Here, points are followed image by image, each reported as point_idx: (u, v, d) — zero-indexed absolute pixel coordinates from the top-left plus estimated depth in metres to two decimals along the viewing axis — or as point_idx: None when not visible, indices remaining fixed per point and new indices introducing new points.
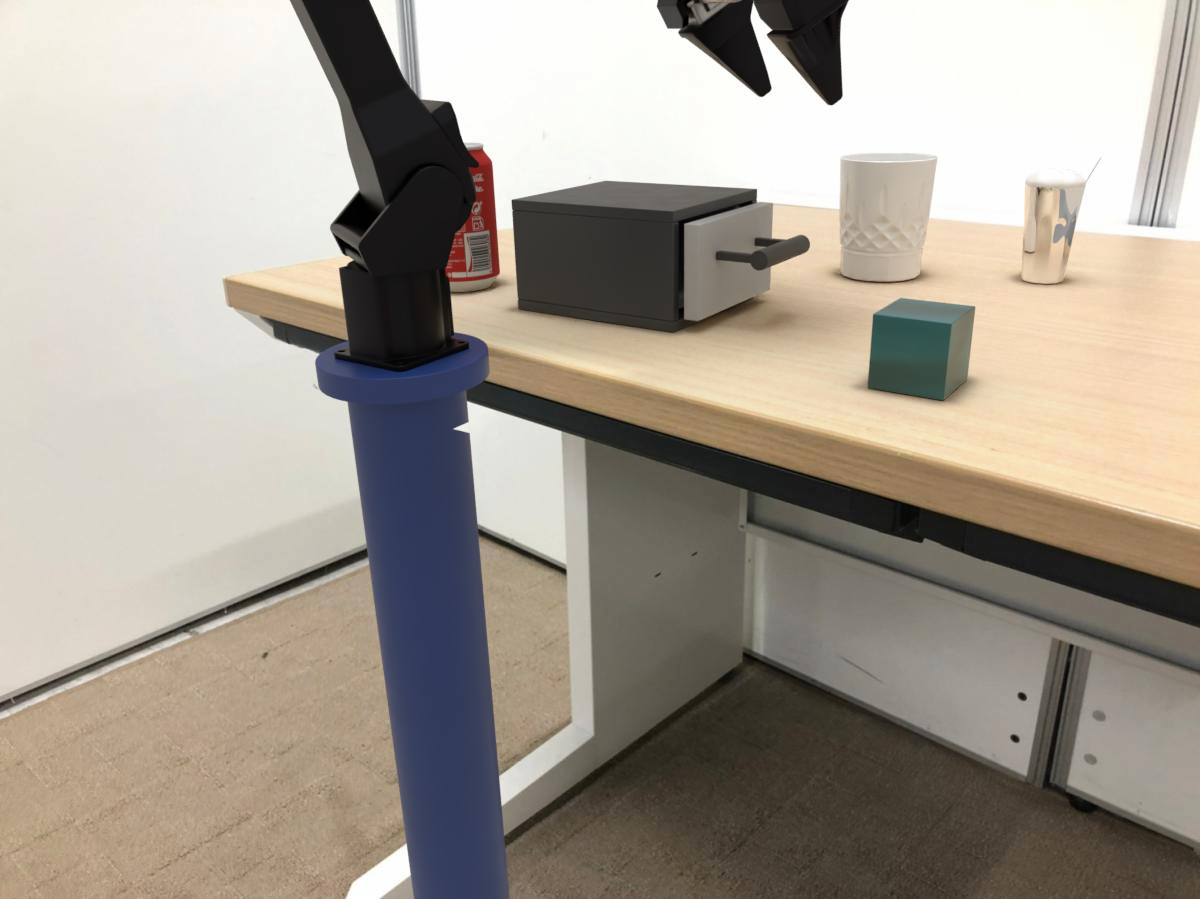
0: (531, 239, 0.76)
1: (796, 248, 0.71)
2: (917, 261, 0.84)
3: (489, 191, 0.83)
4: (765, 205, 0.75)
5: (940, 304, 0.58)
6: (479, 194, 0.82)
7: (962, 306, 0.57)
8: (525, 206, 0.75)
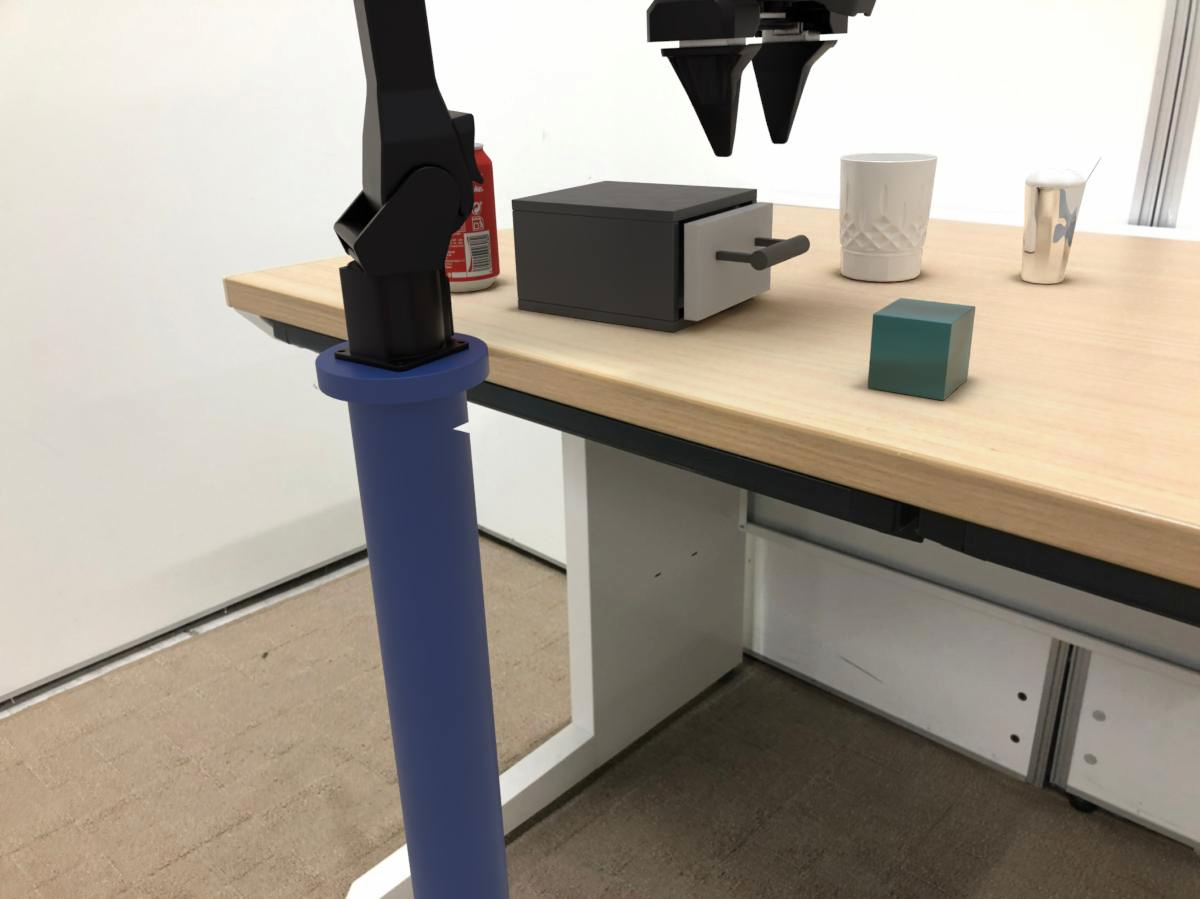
0: (531, 239, 0.76)
1: (796, 248, 0.71)
2: (917, 261, 0.84)
3: (489, 191, 0.83)
4: (765, 205, 0.75)
5: (940, 304, 0.58)
6: (479, 194, 0.82)
7: (962, 306, 0.57)
8: (525, 206, 0.75)
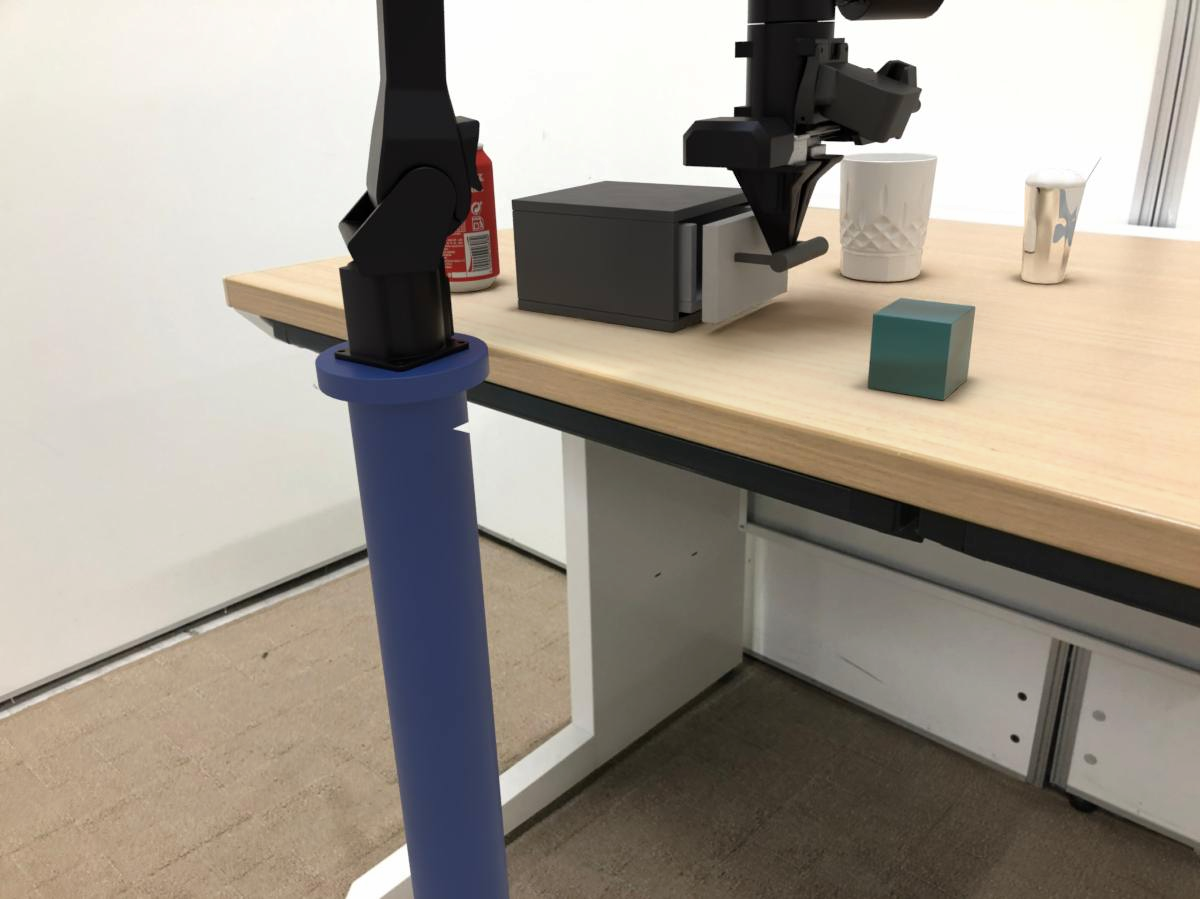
0: (531, 239, 0.76)
1: (816, 250, 0.71)
2: (917, 261, 0.84)
3: (489, 191, 0.83)
4: None
5: (940, 304, 0.58)
6: (479, 194, 0.82)
7: (962, 306, 0.57)
8: (525, 206, 0.75)
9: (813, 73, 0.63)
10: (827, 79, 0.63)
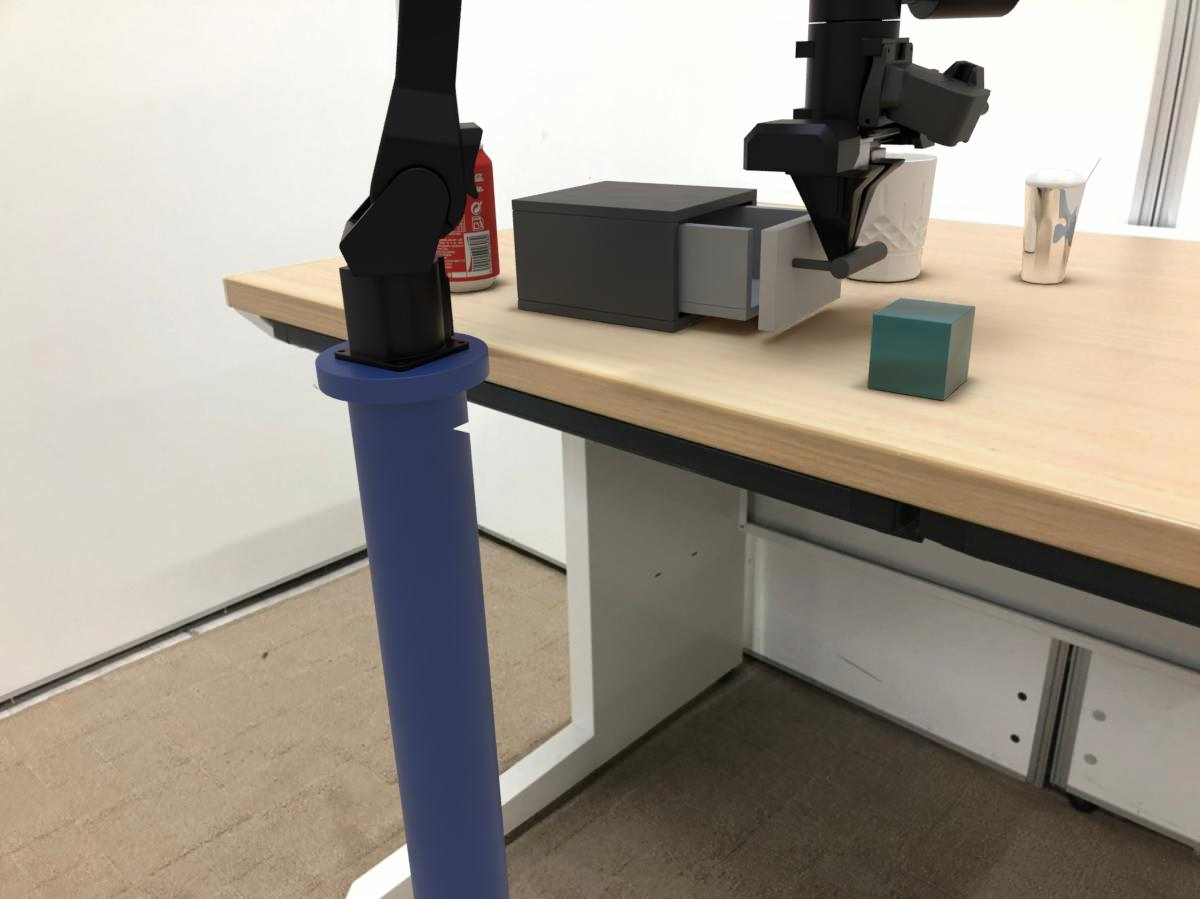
0: (531, 239, 0.76)
1: (875, 255, 0.68)
2: (917, 261, 0.84)
3: (489, 191, 0.83)
4: None
5: (940, 304, 0.58)
6: (479, 194, 0.82)
7: (962, 306, 0.57)
8: (525, 206, 0.75)
9: (879, 74, 0.60)
10: (894, 80, 0.60)
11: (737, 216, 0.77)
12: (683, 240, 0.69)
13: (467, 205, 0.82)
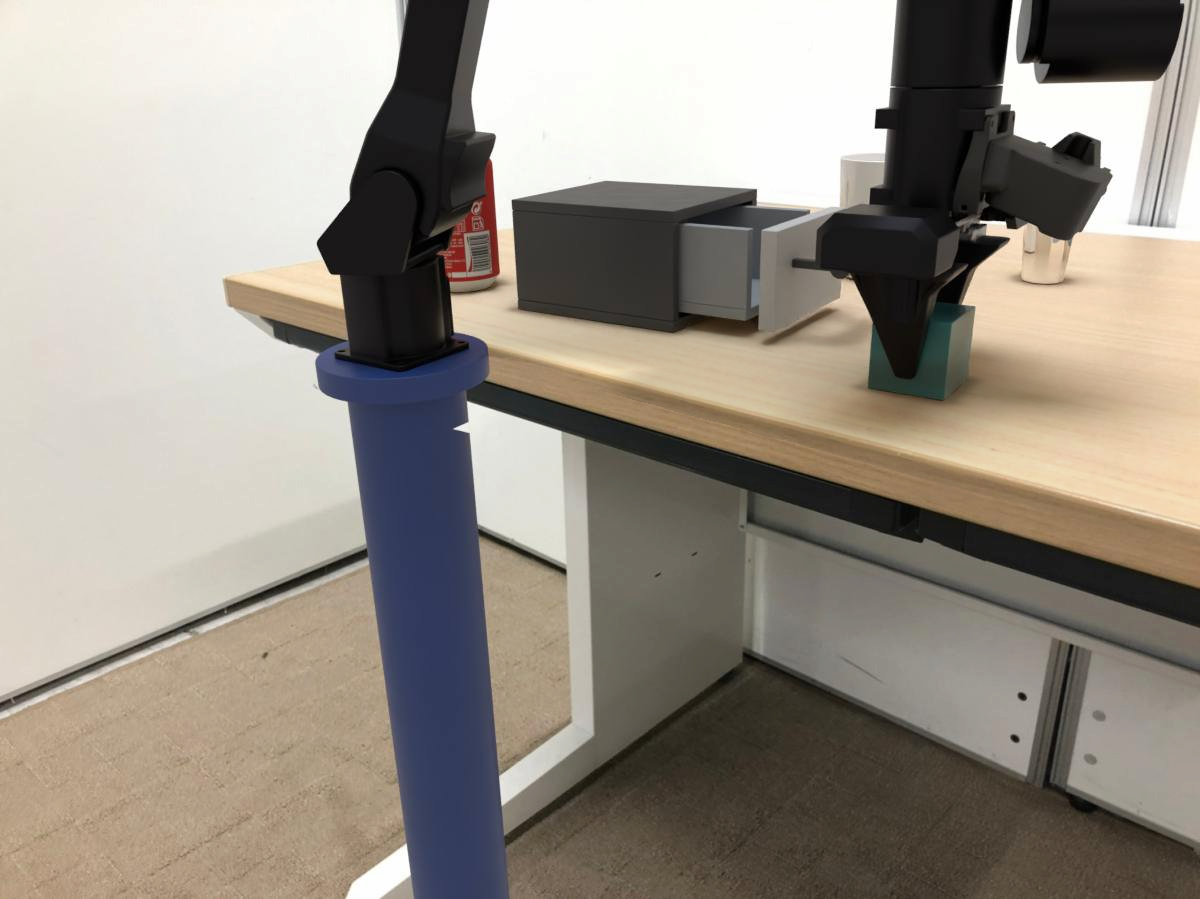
0: (531, 239, 0.76)
1: None
2: None
3: (489, 191, 0.83)
4: (838, 210, 0.72)
5: (940, 304, 0.58)
6: None
7: (962, 306, 0.58)
8: (525, 206, 0.75)
9: (981, 152, 0.50)
10: (999, 160, 0.50)
11: (737, 216, 0.77)
12: (683, 240, 0.69)
13: None
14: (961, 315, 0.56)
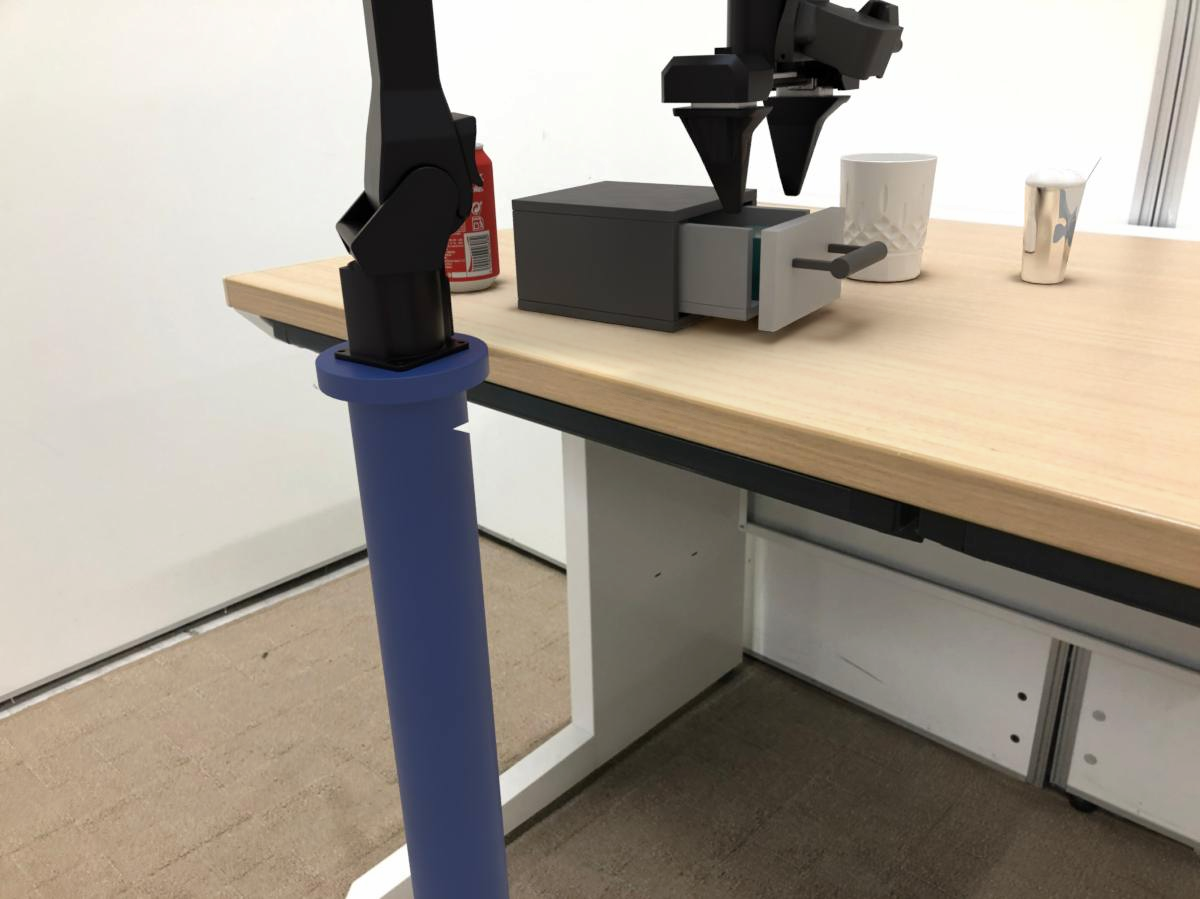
0: (531, 239, 0.76)
1: (875, 255, 0.68)
2: (917, 261, 0.84)
3: (489, 191, 0.83)
4: (838, 210, 0.72)
5: None
6: (479, 194, 0.82)
7: None
8: (525, 206, 0.75)
9: (793, 9, 0.62)
10: (807, 15, 0.62)
11: (737, 216, 0.77)
12: (683, 240, 0.69)
13: None
14: None
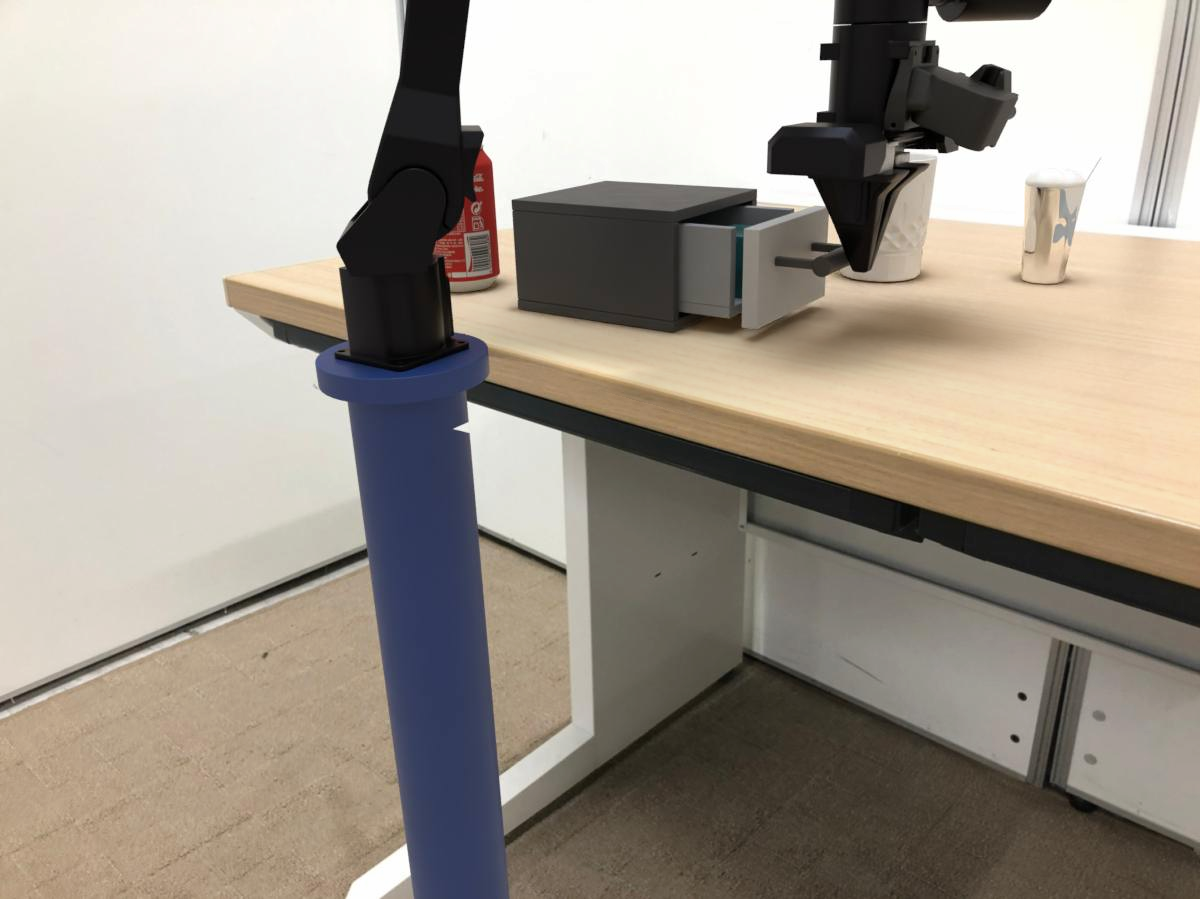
0: (531, 239, 0.76)
1: None
2: (917, 261, 0.84)
3: (489, 191, 0.83)
4: (822, 209, 0.73)
5: None
6: (479, 194, 0.82)
7: None
8: (525, 206, 0.75)
9: (906, 77, 0.59)
10: (921, 83, 0.59)
11: (722, 215, 0.77)
12: None
13: (467, 205, 0.82)
14: None
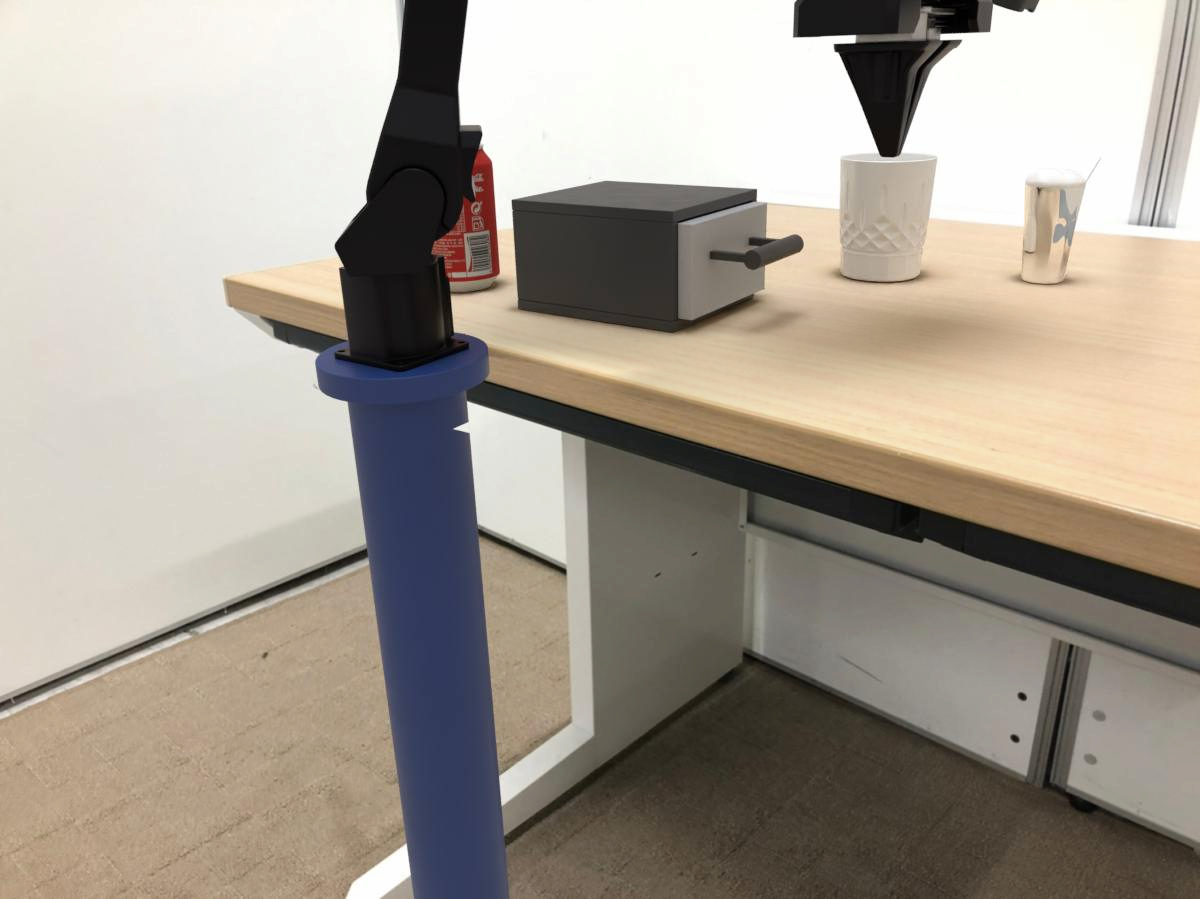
0: (531, 239, 0.76)
1: (790, 247, 0.72)
2: (917, 261, 0.84)
3: (489, 191, 0.83)
4: (759, 205, 0.76)
5: None
6: (479, 194, 0.82)
7: None
8: (525, 206, 0.75)
9: None
10: None
11: None
12: None
13: (467, 205, 0.82)
14: None
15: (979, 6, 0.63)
